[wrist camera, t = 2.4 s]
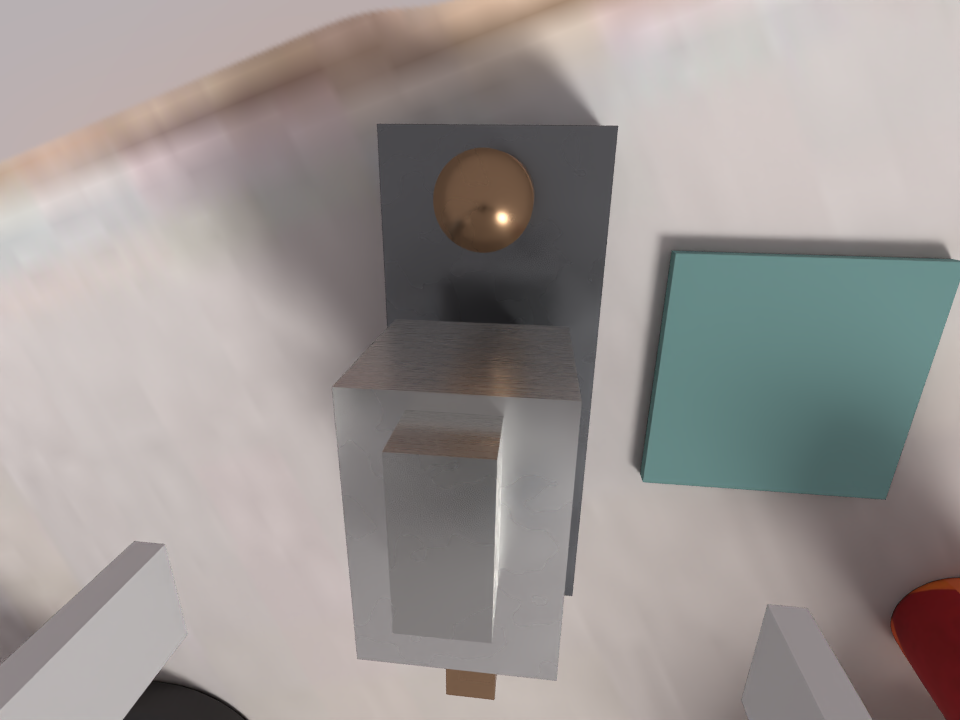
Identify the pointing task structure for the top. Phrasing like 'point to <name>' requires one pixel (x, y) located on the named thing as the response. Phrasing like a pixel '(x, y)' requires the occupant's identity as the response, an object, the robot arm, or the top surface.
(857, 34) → the top surface
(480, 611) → the lever cap
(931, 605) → the coffee cup
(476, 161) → the hand plane
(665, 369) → the rubber mat
